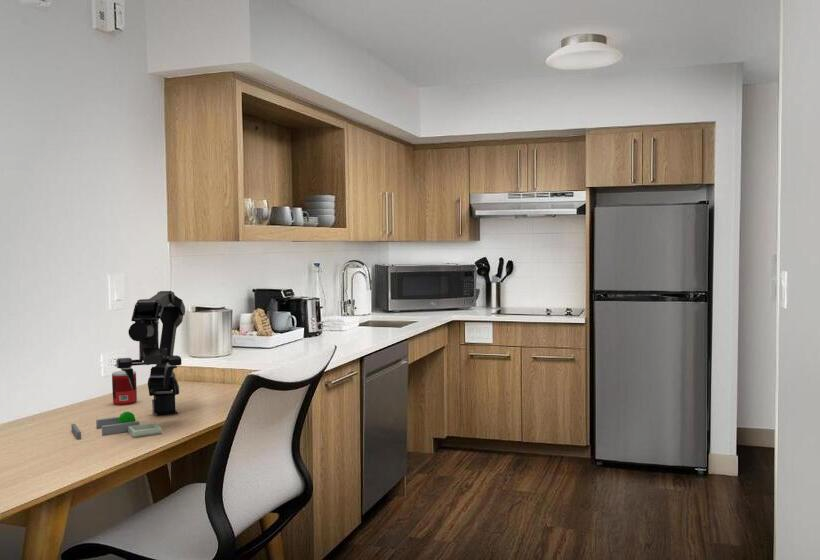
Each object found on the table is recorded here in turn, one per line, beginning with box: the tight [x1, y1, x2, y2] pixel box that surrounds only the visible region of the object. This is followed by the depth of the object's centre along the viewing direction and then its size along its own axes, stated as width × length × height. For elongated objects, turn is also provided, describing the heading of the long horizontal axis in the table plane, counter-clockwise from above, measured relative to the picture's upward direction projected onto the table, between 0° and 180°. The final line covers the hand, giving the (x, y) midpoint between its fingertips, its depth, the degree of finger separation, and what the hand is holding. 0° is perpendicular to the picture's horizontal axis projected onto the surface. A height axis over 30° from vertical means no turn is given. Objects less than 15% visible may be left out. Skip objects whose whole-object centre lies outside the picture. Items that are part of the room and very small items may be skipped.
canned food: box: [111, 370, 138, 406], centre depth 266 cm, size 8×8×11 cm
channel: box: [70, 415, 140, 440], centre depth 228 cm, size 18×12×2 cm
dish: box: [127, 422, 163, 439], centre depth 225 cm, size 8×8×2 cm
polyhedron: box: [118, 411, 137, 423], centre depth 231 cm, size 5×5×5 cm
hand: (149, 389), depth 234 cm, fingers open, 9 cm apart
